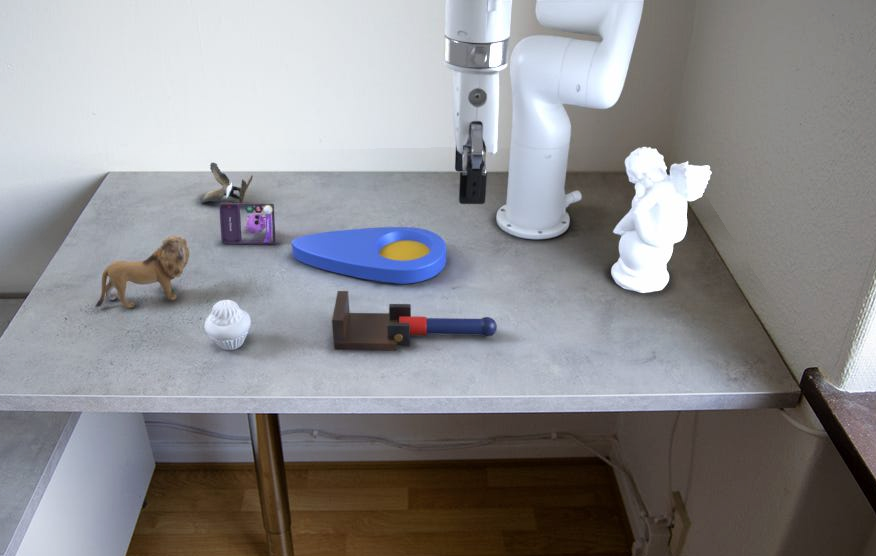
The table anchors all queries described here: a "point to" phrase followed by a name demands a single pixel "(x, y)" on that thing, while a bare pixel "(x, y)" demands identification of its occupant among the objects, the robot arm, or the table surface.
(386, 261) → the location marker
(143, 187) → the table surface
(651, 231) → the cherub figurine
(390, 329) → the brown lever base
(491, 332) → the blue lever handle
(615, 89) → the robot arm
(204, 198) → the eagle figurine
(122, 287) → the lion figurine
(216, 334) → the muffin
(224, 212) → the purple toy package
